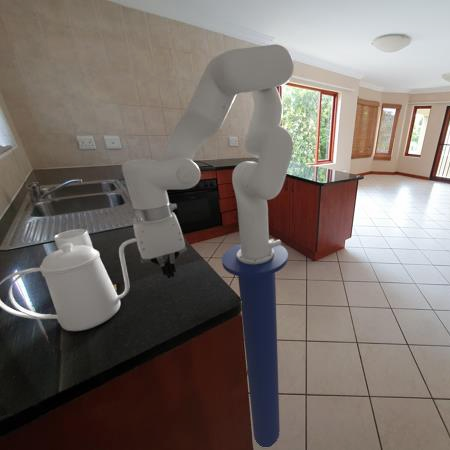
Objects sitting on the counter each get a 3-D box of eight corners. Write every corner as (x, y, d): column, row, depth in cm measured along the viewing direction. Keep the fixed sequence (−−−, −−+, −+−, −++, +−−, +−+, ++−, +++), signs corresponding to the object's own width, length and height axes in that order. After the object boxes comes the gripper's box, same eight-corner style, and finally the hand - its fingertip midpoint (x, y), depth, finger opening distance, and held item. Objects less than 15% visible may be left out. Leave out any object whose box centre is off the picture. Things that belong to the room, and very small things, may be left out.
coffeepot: (158, 306, 59) (141, 238, 52) (11, 358, 45) (-41, 275, 38) (153, 284, 67) (137, 223, 60) (26, 323, 53) (-14, 249, 46)
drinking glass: (71, 281, 68) (51, 233, 62) (101, 271, 73) (85, 226, 67) (75, 291, 64) (54, 241, 58) (106, 280, 69) (89, 233, 63)
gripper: (182, 202, 64) (194, 260, 71) (115, 214, 56) (136, 279, 63) (190, 209, 59) (202, 271, 66) (116, 224, 50) (139, 293, 57)
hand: (170, 275), depth 64 cm, fingers closed
